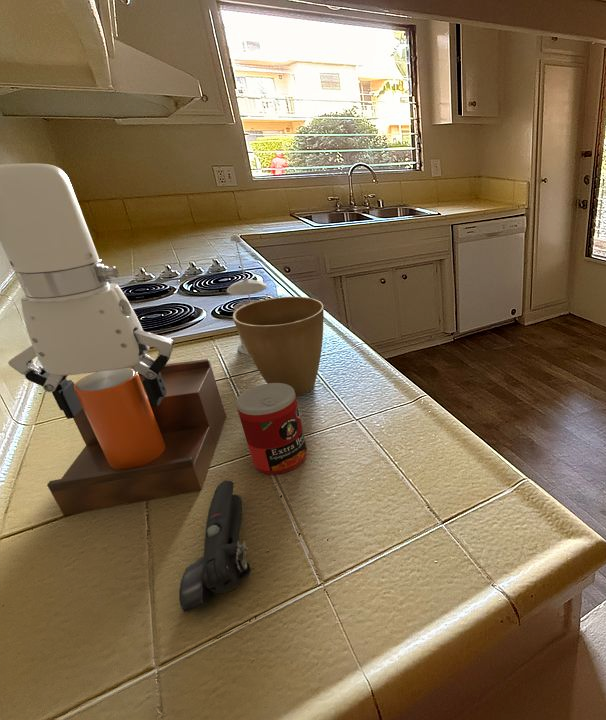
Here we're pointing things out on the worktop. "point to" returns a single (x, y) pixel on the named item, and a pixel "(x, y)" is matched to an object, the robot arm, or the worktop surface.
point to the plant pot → (283, 339)
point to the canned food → (272, 427)
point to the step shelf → (168, 471)
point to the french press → (245, 291)
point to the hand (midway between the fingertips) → (118, 406)
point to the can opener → (217, 553)
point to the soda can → (121, 417)
